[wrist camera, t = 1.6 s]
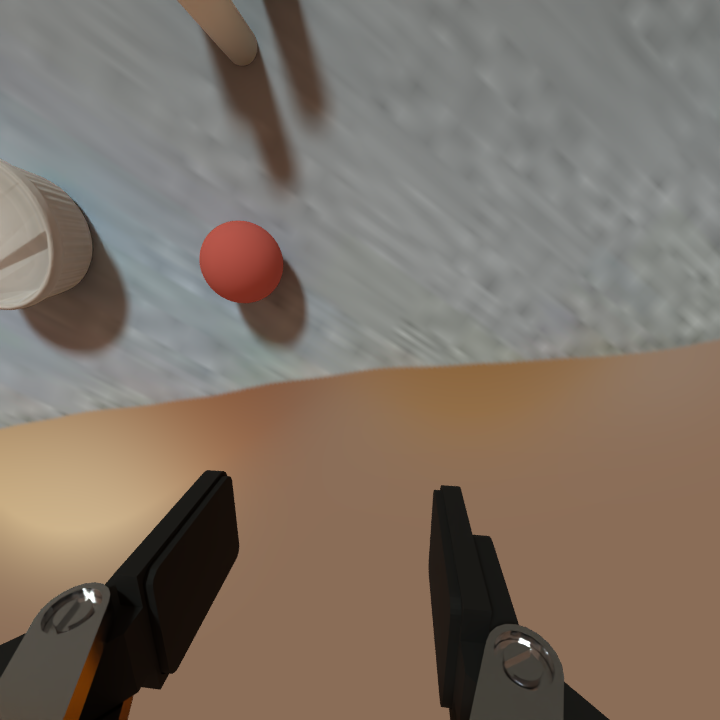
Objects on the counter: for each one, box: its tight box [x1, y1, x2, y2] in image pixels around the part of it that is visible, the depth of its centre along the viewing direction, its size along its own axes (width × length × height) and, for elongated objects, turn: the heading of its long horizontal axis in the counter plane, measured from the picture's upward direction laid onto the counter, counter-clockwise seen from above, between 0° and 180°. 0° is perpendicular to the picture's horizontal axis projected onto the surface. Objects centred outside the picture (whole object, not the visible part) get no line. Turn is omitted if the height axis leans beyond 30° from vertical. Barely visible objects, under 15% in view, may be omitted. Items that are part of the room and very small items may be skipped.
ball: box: [200, 221, 283, 303], centre depth 28 cm, size 6×6×6 cm
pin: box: [177, 0, 257, 66], centre depth 22 cm, size 2×2×8 cm
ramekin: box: [0, 159, 93, 310], centre depth 30 cm, size 11×11×5 cm
